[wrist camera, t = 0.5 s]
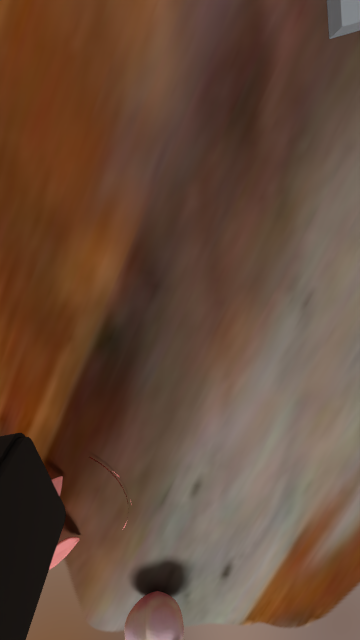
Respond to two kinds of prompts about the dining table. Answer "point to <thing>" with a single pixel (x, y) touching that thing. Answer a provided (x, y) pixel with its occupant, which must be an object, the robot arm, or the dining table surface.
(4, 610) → the robot arm
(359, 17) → the socket block
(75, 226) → the dining table surface
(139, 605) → the decorative fruit
